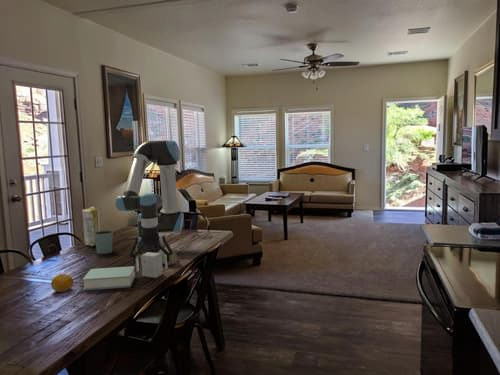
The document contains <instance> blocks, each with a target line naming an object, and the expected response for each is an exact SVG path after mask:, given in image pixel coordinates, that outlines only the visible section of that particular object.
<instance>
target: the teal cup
mask: <svg viewBox="0 0 500 375" xmlns="http://www.w3.org/2000/svg"><path fill="white" fill-rule="evenodd" d="M94 235H95V240H96V245H95V247H96V248H95V249H96V250H95V251H96V253H97V254H98V255H104V254H106V255H107V254H110V253H112V252H113V235H114V233H113V230H100V231H98V232H95V233H94Z"/></svg>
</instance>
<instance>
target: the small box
mask: <svg viewBox="0 0 500 375" xmlns="http://www.w3.org/2000/svg"><path fill="white" fill-rule="evenodd" d="M140 259H141V260H140V261H141V274H142V277H144V276H145V277H147V278H158V277H160V276H161V275H163V274H164V273H163V264H162V257H161V253H158V252H155V253H151V252H147V253H142V254H141V255H140Z"/></svg>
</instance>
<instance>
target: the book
mask: <svg viewBox="0 0 500 375" xmlns="http://www.w3.org/2000/svg"><path fill="white" fill-rule="evenodd" d="M135 269H136V265H134V266H132V265H131V266H118V267H117V266H116V267H102V268H91V269H90V270H89V271H88V272H87V273H86V274H85V276H84V277H82V281H83V286H84V288H82V291H92V290H107V289H121V288H124V289H125V288H131V286H132V284H133V282H134V281H135V278H136V274H135Z"/></svg>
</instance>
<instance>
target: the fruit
mask: <svg viewBox="0 0 500 375" xmlns="http://www.w3.org/2000/svg"><path fill="white" fill-rule="evenodd" d="M50 286H51V288H52V289H53V290H54V291H55V292H58V293H62V292H63V293H64V292H66V291H69V290H70V289H71V288H72V287H73V286H74V279H73V277H72V276H71V275H69V274H67V273H66V274H65V273H61V274H60V273H59V274H57V275H56V276H55V277H53V278H52V280H51V284H50Z"/></svg>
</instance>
